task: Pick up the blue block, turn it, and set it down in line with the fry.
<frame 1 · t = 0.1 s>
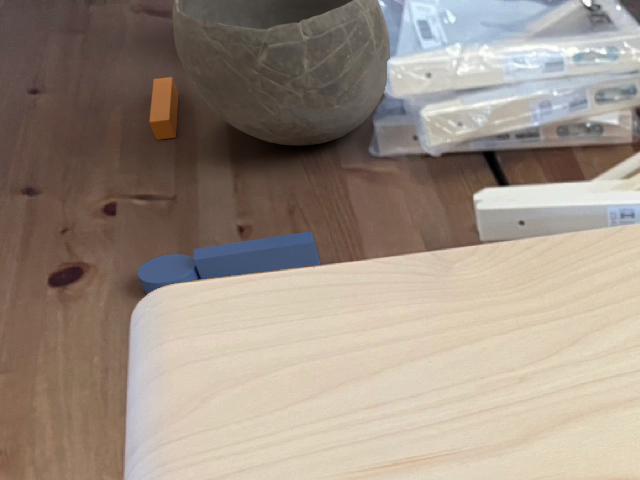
bowl: (312, 133, 111), on the table
fry: (168, 116, 113), on the table
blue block: (227, 275, 91), on the table
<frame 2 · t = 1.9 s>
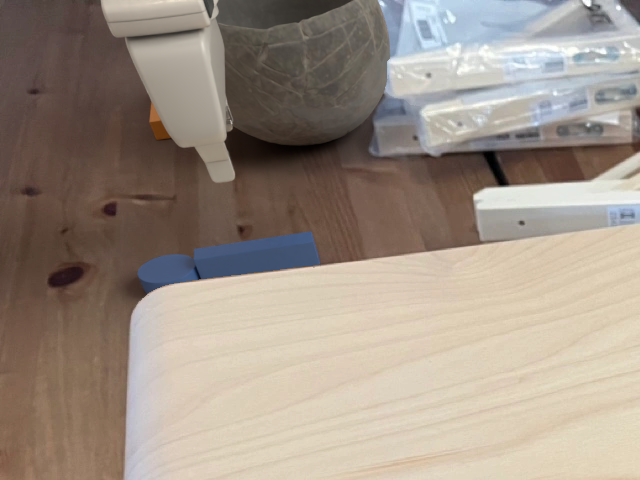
hand: (224, 152, 84), 11 cm above the table, tool pointing down, fingers open, 8 cm apart
nothing on the table moved.
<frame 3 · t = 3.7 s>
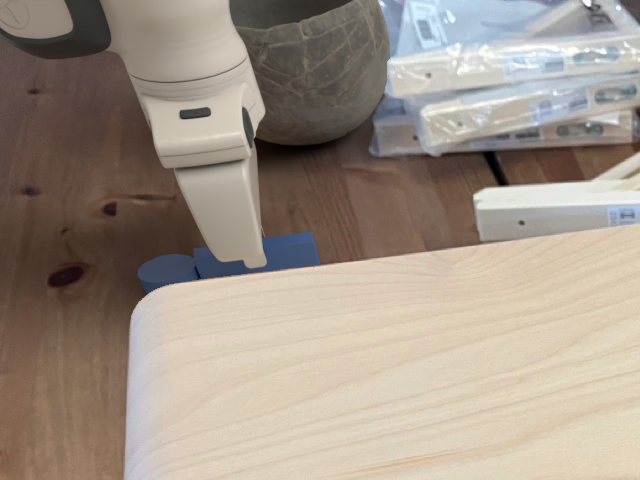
hand: (256, 254, 90), 2 cm above the table, tool pointing down, fingers closed on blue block, 2 cm apart
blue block: (227, 275, 91), on the table, touching gripper
everything else where it was.
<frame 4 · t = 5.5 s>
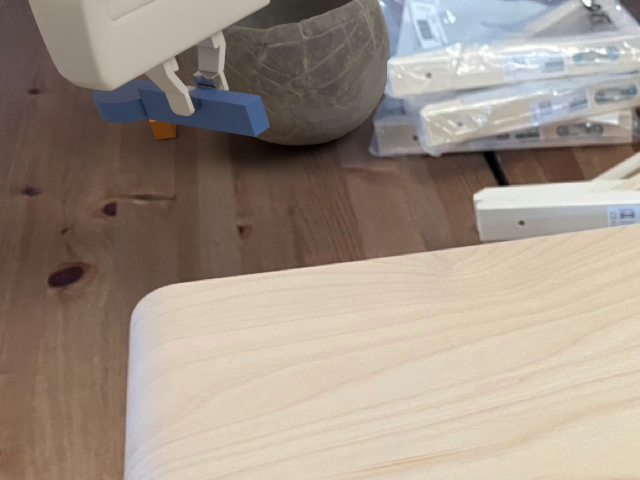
hand: (202, 103, 80), 15 cm above the table, tool pointing down, fingers closed on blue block
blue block: (178, 118, 82), point 13 cm above the table, touching gripper
everything else where it was.
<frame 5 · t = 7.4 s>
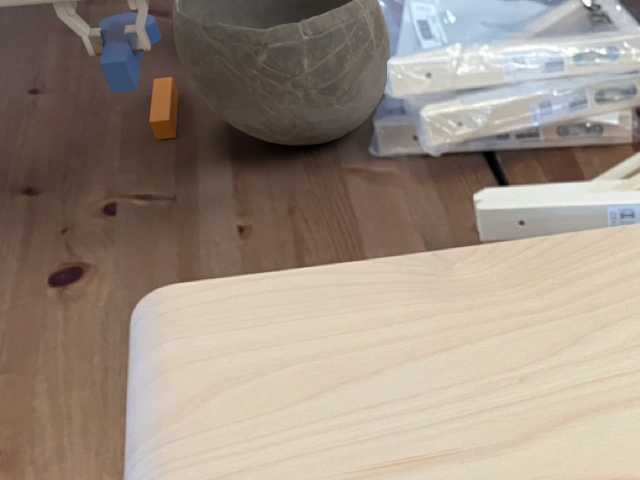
hand: (120, 51, 88), 15 cm above the table, tool pointing down, fingers closed on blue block
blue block: (130, 57, 91), point 13 cm above the table, touching gripper
everything else where it was.
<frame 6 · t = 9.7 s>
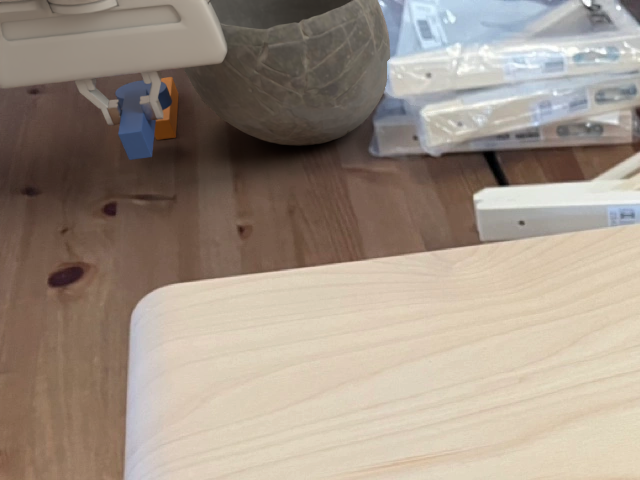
hand: (136, 120, 97), 7 cm above the table, tool pointing down, fingers closed on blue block
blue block: (145, 123, 100), point 5 cm above the table, touching gripper
everything else where it was.
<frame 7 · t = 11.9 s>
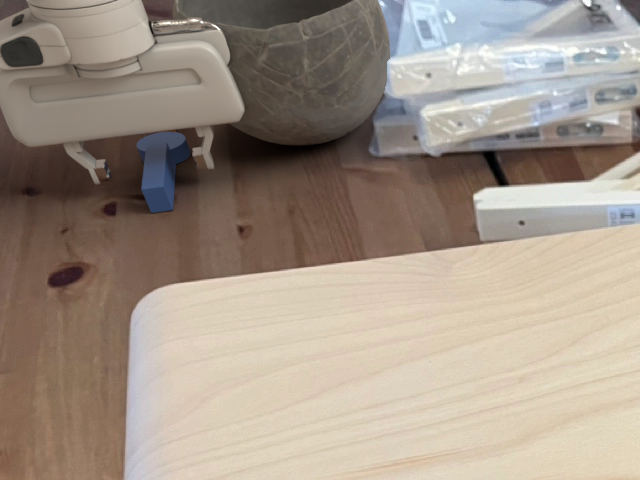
hand: (156, 174, 101), 2 cm above the table, tool pointing down, fingers open, 8 cm apart
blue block: (165, 175, 104), on the table
everything else where it was.
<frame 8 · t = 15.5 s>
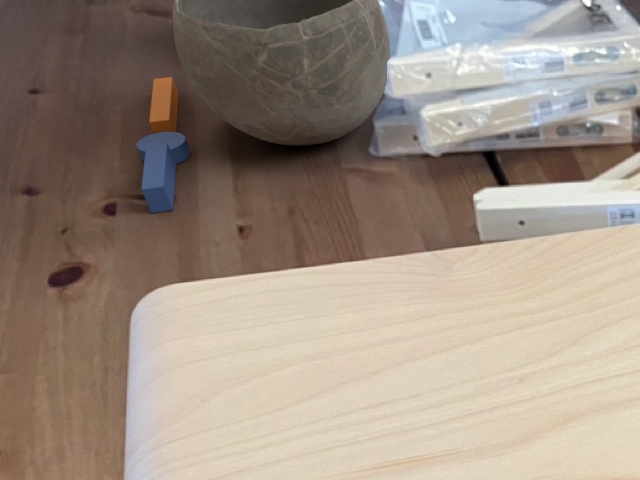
nothing on the table moved.
at the end: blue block 0.2 cm from the target spot on the table beside the fry, on the table; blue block tilted 0°; the gripper is holding nothing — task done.
